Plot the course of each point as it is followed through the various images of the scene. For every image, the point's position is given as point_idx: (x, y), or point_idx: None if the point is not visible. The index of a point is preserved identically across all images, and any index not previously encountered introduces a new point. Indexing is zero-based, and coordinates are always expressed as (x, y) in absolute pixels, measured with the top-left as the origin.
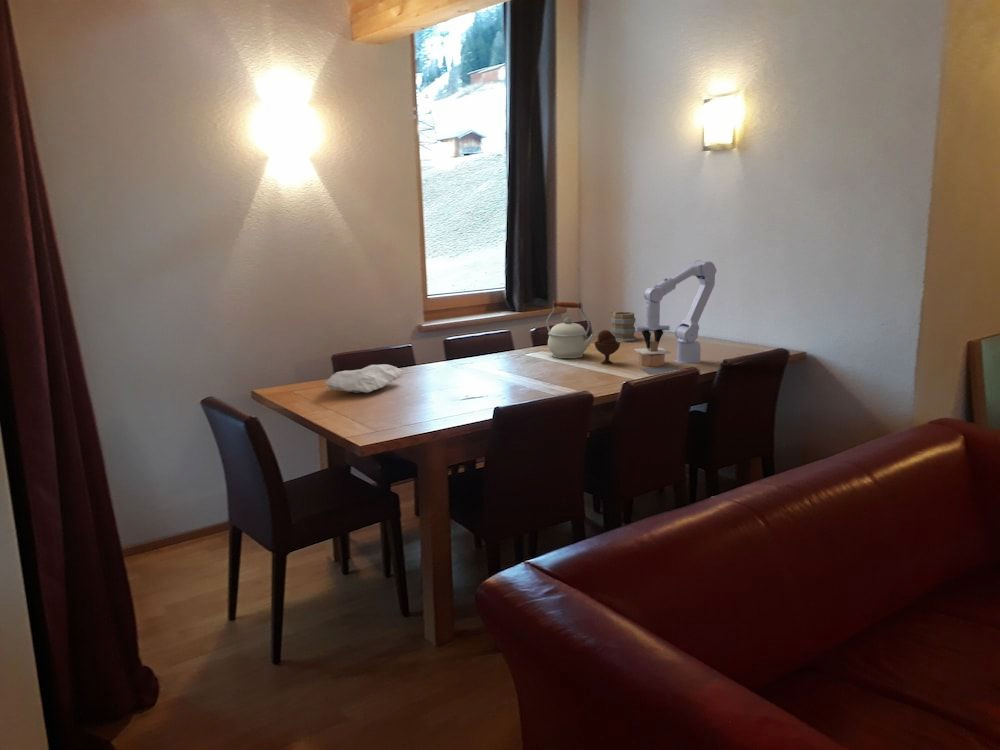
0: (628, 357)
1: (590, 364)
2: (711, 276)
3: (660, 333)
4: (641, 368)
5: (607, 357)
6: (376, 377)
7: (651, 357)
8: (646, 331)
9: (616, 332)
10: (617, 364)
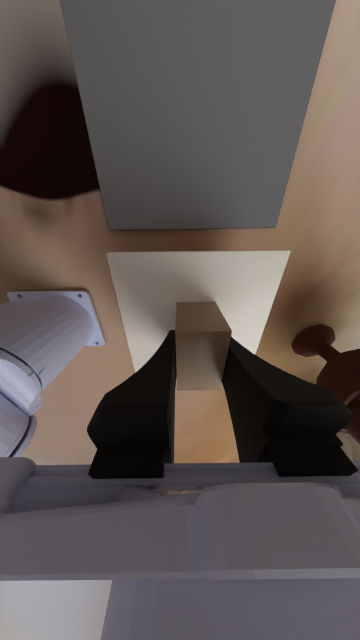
0: (211, 392)
1: (356, 344)
2: None
3: (137, 398)
4: (269, 224)
5: (335, 350)
6: None
7: None
8: (310, 454)
9: (178, 493)
10: (288, 330)
